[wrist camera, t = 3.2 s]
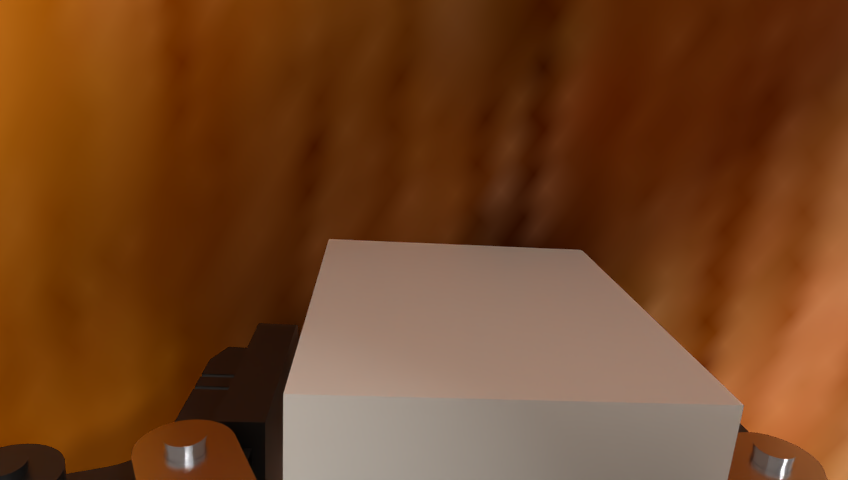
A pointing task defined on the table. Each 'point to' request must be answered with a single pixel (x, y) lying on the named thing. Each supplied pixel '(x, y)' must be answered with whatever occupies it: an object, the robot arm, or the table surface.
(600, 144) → the table surface
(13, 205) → the table surface
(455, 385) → the cream brick
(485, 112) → the table surface
